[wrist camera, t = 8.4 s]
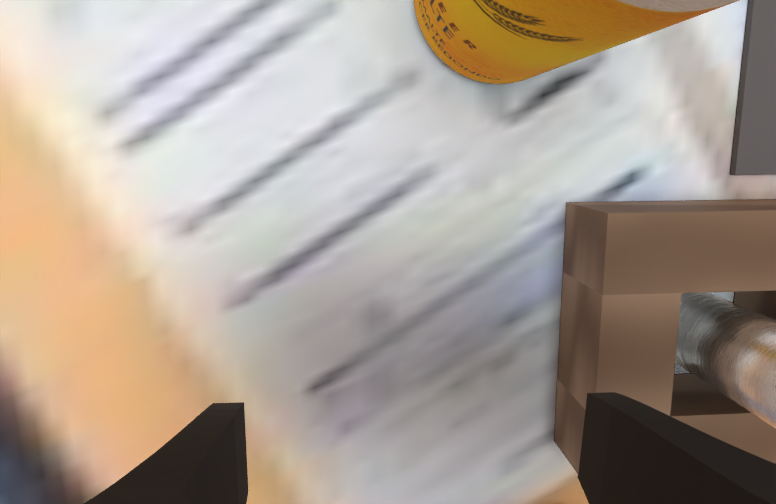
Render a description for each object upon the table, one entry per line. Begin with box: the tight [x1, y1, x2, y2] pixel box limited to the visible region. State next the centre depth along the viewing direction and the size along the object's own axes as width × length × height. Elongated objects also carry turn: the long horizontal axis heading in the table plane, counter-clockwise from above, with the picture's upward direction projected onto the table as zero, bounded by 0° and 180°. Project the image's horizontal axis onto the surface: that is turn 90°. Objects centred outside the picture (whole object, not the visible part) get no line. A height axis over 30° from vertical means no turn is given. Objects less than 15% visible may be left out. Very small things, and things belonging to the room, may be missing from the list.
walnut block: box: [554, 199, 776, 474], centre depth 21 cm, size 10×10×4 cm
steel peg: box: [675, 292, 776, 429], centre depth 18 cm, size 3×3×9 cm
